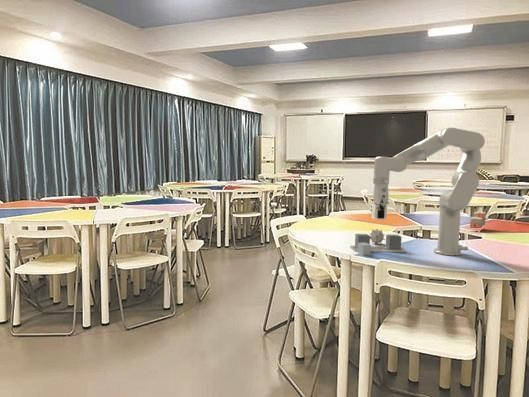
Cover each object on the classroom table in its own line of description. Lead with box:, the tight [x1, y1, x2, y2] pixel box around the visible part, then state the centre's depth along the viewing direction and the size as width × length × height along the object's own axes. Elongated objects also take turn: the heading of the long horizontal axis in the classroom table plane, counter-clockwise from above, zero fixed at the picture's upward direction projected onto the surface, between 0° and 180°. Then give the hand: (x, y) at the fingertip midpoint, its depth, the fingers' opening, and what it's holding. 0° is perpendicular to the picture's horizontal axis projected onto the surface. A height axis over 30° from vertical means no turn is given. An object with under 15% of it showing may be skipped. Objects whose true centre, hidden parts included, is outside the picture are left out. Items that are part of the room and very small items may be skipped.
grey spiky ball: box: [368, 228, 386, 246], centre depth 234 cm, size 9×8×10 cm
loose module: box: [370, 203, 388, 220], centre depth 215 cm, size 6×5×7 cm
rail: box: [349, 233, 407, 253], centre depth 217 cm, size 26×9×8 cm, turn 93°
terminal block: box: [356, 243, 372, 256], centre depth 206 cm, size 4×6×5 cm, turn 14°
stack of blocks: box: [469, 211, 487, 229], centre depth 297 cm, size 21×6×12 cm, turn 145°
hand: (378, 217), depth 216 cm, fingers closed on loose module, 5 cm apart
